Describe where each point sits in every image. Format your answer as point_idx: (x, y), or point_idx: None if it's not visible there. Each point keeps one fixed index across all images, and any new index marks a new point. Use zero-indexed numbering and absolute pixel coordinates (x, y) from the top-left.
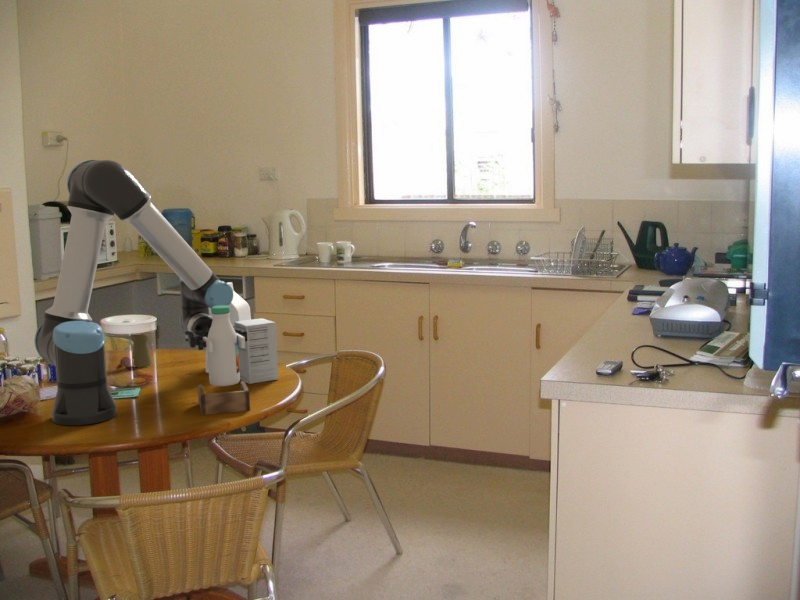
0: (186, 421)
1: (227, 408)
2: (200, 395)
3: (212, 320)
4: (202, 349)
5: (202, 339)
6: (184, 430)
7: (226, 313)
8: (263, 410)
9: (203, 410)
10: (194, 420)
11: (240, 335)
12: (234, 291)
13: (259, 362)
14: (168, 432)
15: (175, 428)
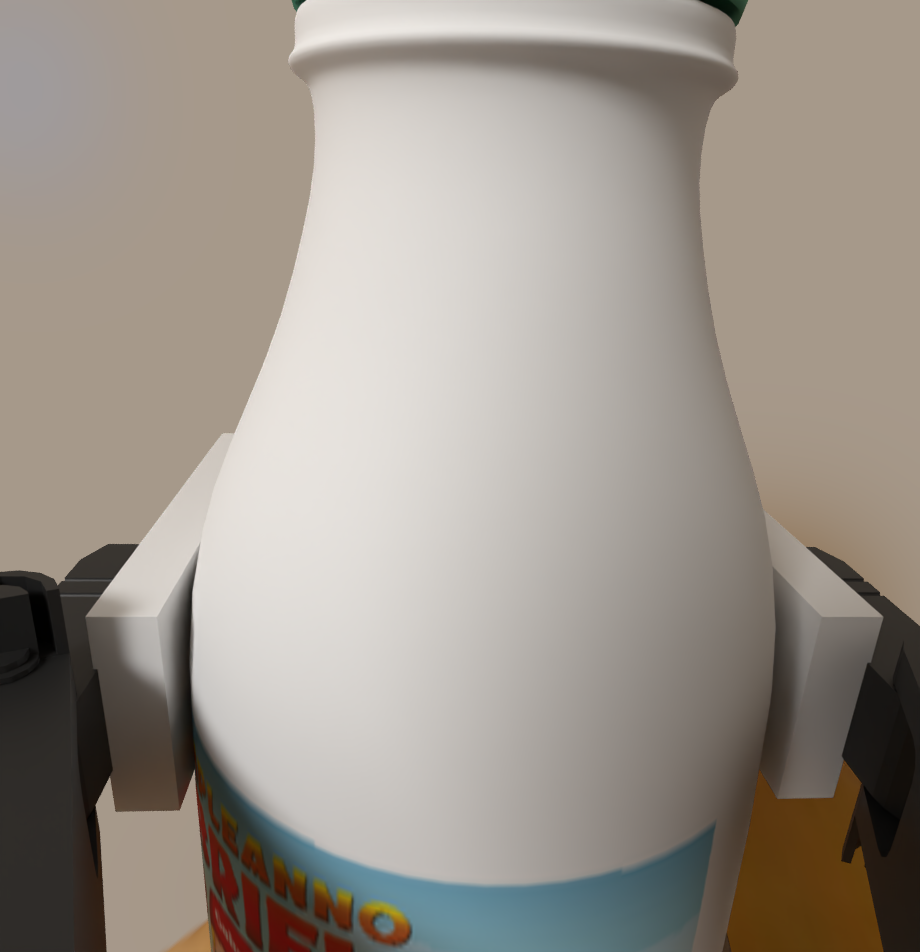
0: (791, 926)
1: None
2: (728, 948)
3: (698, 225)
4: (850, 842)
5: (882, 666)
6: (759, 773)
7: (336, 60)
8: (205, 944)
9: None
10: (734, 925)
11: (192, 491)
12: None
13: None
14: (845, 776)
15: (826, 820)
